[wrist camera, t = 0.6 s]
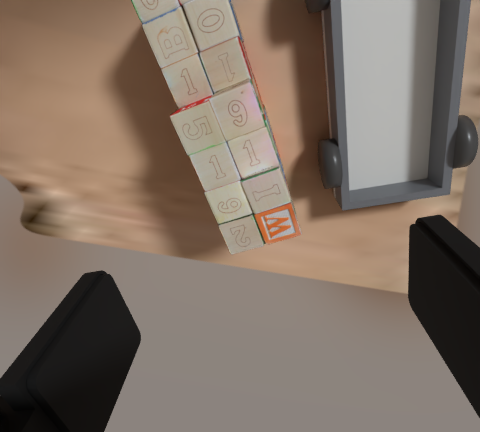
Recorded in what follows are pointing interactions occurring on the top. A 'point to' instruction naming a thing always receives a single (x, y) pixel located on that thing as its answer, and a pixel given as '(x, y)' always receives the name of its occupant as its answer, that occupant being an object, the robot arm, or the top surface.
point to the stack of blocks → (221, 118)
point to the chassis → (393, 99)
